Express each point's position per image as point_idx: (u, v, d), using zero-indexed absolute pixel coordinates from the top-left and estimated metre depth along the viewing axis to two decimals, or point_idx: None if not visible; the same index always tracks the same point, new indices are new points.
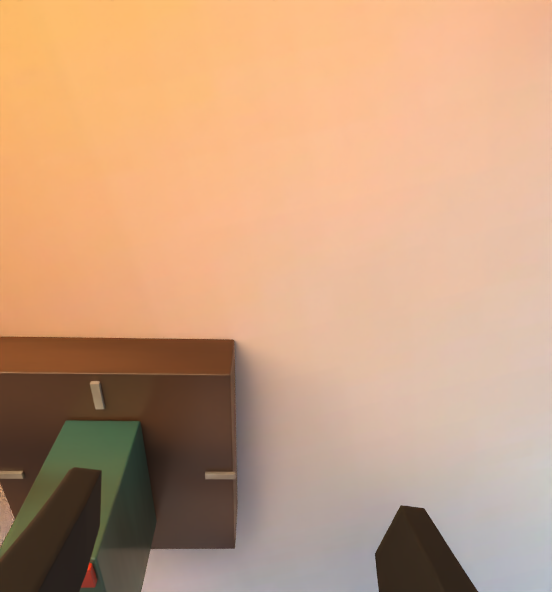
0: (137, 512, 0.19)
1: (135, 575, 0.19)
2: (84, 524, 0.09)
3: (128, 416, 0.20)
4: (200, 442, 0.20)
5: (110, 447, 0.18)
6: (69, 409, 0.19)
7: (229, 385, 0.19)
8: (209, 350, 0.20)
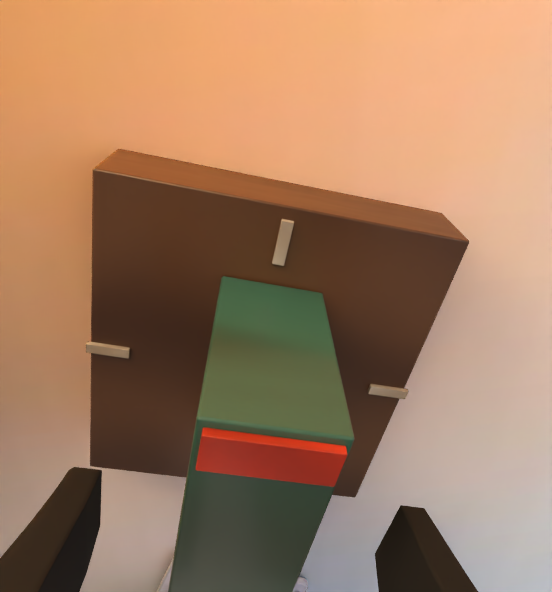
0: None
1: None
2: (84, 524, 0.09)
3: (307, 285, 0.14)
4: (383, 338, 0.15)
5: (300, 313, 0.13)
6: (232, 260, 0.14)
7: (460, 258, 0.14)
8: (421, 216, 0.15)
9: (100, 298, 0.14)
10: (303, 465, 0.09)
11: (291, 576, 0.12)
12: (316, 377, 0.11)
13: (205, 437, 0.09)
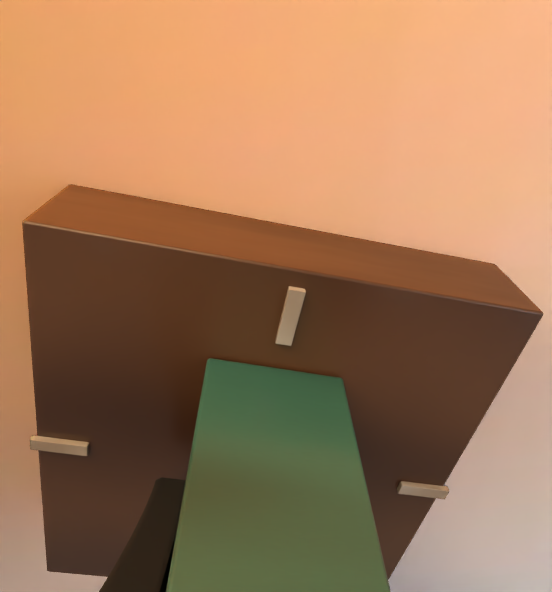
0: None
1: None
2: None
3: (322, 367, 0.11)
4: (420, 430, 0.12)
5: (315, 418, 0.09)
6: (221, 338, 0.10)
7: (530, 334, 0.10)
8: (472, 272, 0.11)
9: (45, 384, 0.11)
10: None
11: None
12: (344, 552, 0.07)
13: None
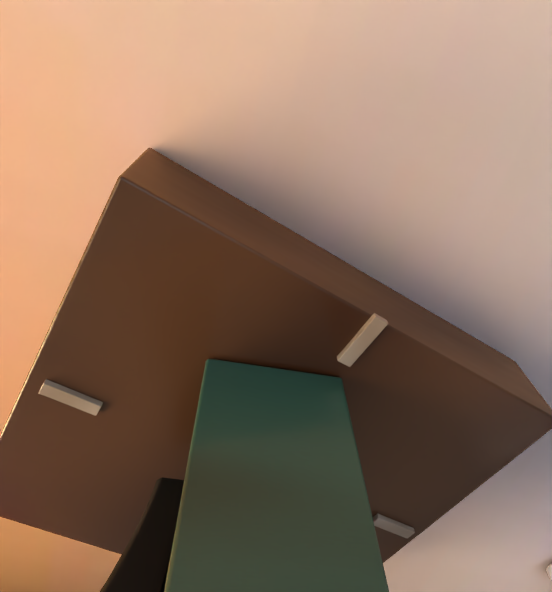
0: None
1: None
2: None
3: (140, 386, 0.11)
4: (260, 324, 0.10)
5: (314, 418, 0.09)
6: (87, 442, 0.12)
7: (146, 194, 0.09)
8: None
9: (109, 545, 0.14)
10: None
11: None
12: (342, 552, 0.07)
13: None
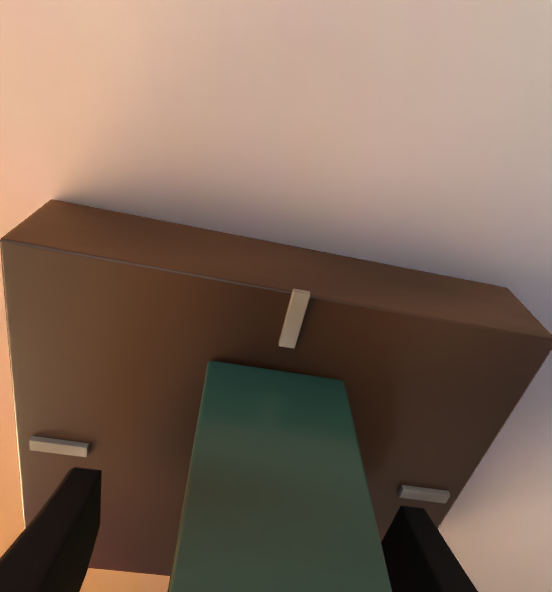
0: None
1: None
2: (84, 524, 0.09)
3: (113, 421, 0.11)
4: (189, 332, 0.10)
5: (316, 421, 0.09)
6: None
7: (29, 247, 0.09)
8: None
9: (160, 570, 0.15)
10: None
11: None
12: (346, 558, 0.07)
13: None
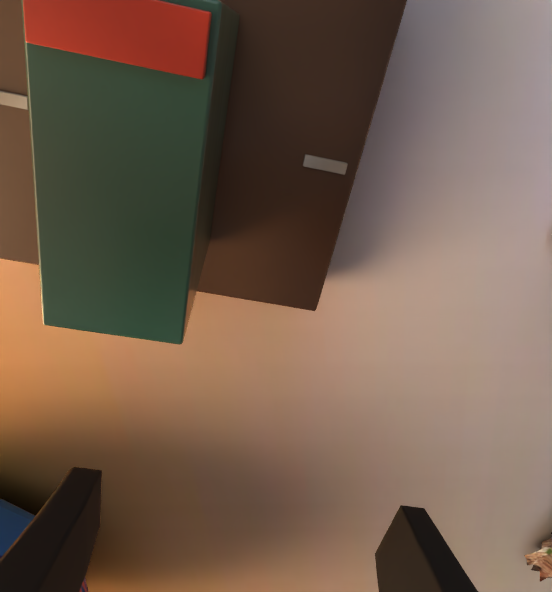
0: (217, 147, 0.12)
1: (202, 240, 0.12)
2: (84, 524, 0.09)
3: None
4: None
5: None
6: None
7: None
8: None
9: None
10: (157, 32, 0.07)
11: (180, 268, 0.10)
12: None
13: None
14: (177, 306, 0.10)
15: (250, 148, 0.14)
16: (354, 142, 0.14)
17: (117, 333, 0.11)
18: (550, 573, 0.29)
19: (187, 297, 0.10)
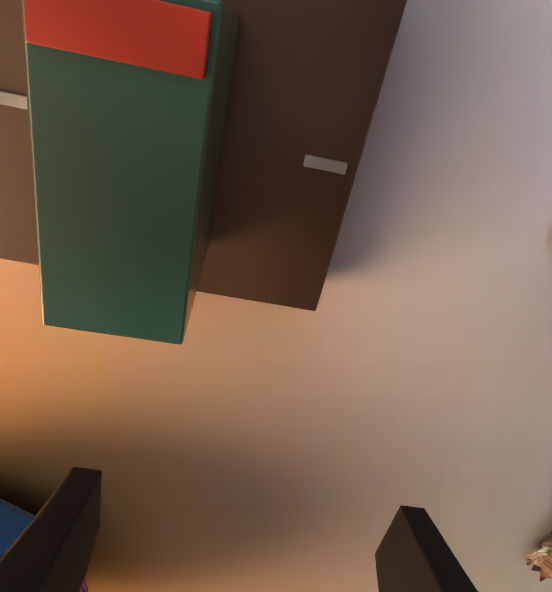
0: (217, 147, 0.12)
1: (202, 240, 0.12)
2: (84, 524, 0.09)
3: None
4: None
5: None
6: None
7: None
8: None
9: None
10: (157, 32, 0.07)
11: (180, 268, 0.10)
12: None
13: None
14: (177, 306, 0.10)
15: (250, 148, 0.14)
16: (354, 142, 0.14)
17: (117, 333, 0.11)
18: (550, 573, 0.29)
19: (187, 297, 0.10)
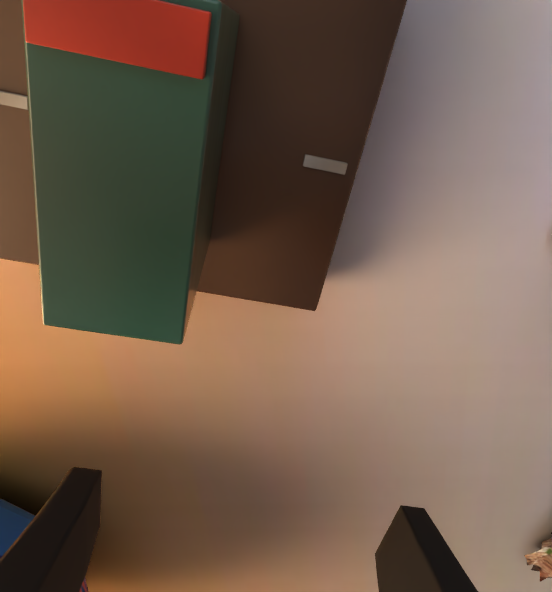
0: (217, 147, 0.12)
1: (202, 240, 0.12)
2: (84, 524, 0.09)
3: None
4: None
5: None
6: None
7: None
8: None
9: None
10: (157, 32, 0.07)
11: (180, 268, 0.10)
12: None
13: None
14: (177, 306, 0.10)
15: (250, 148, 0.14)
16: (354, 142, 0.14)
17: (117, 333, 0.11)
18: (550, 573, 0.29)
19: (187, 297, 0.10)
